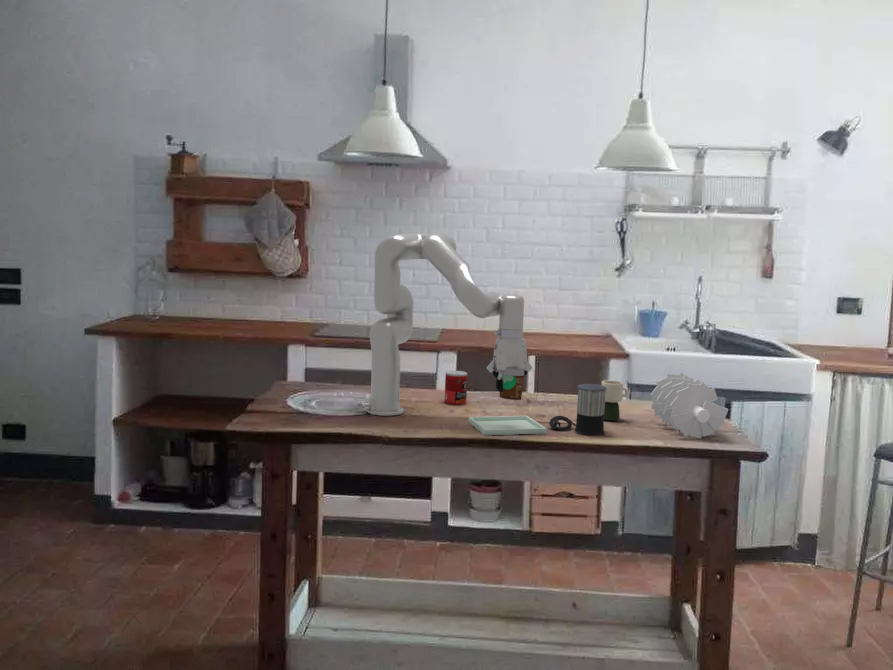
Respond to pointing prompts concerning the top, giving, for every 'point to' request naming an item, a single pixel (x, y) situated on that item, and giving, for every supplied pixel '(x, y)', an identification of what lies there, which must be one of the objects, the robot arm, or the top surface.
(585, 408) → the milk frother
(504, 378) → the food container
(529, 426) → the tray
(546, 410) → the top surface
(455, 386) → the canned food
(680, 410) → the spiral staircase
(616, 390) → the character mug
